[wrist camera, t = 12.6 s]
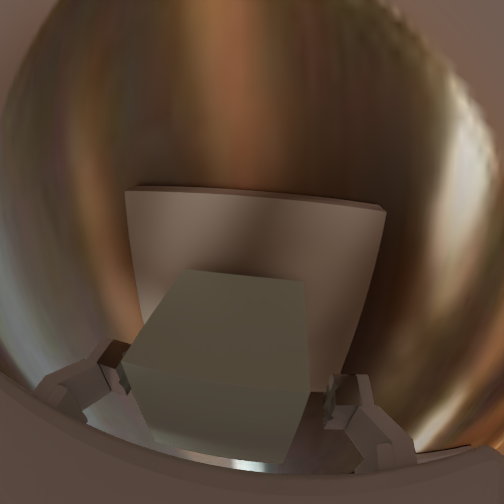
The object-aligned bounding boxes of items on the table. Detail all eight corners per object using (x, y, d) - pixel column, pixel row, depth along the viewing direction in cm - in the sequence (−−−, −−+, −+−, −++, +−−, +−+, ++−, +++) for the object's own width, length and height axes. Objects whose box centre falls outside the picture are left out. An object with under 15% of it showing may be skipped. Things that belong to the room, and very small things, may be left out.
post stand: (378, 204, 12) (454, 281, 6) (330, 379, 17) (336, 472, 11) (136, 185, 13) (33, 237, 7) (160, 356, 18) (120, 436, 12)
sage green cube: (303, 281, 12) (310, 392, 7) (288, 365, 14) (283, 463, 9) (183, 268, 12) (120, 361, 7) (191, 353, 15) (155, 441, 9)
